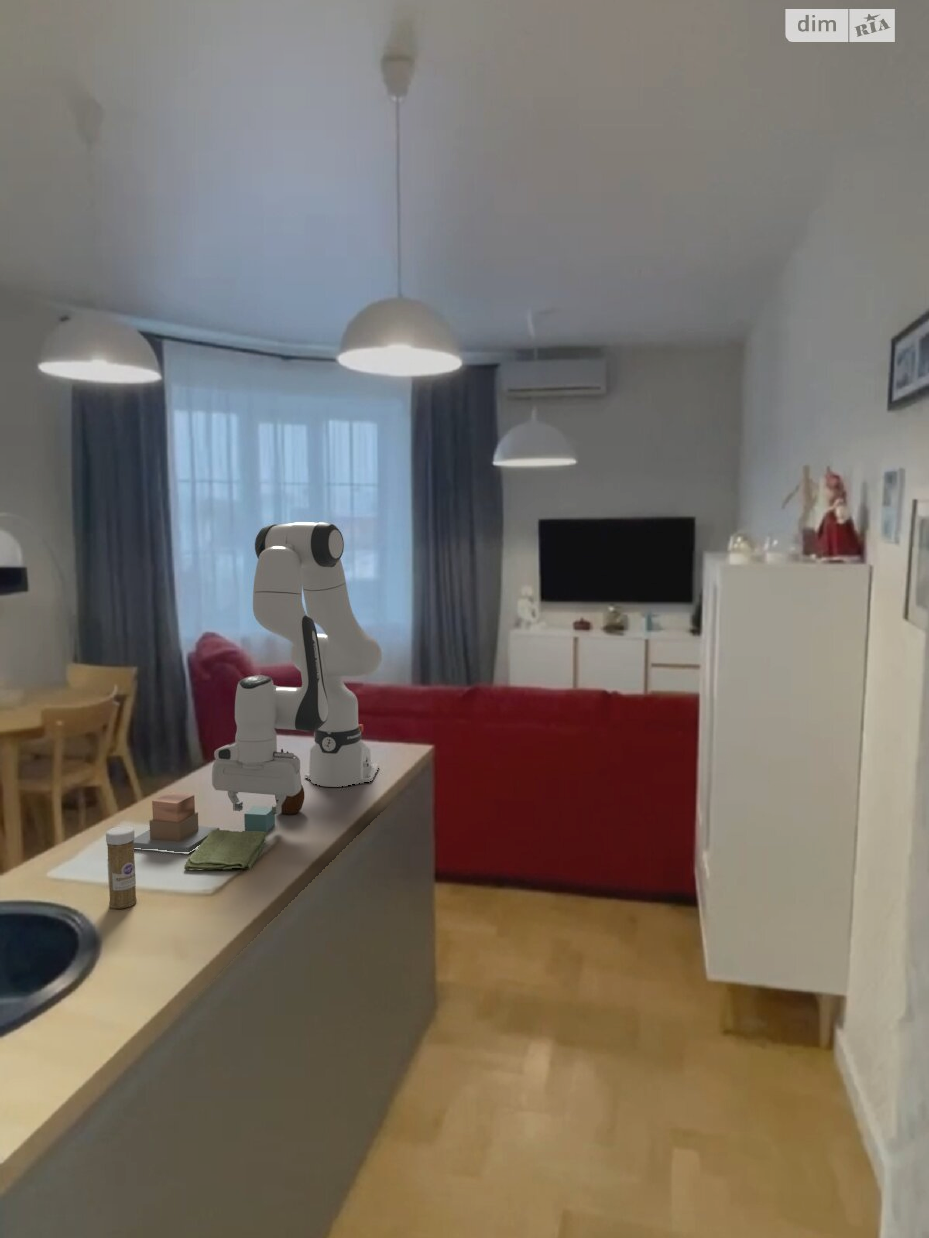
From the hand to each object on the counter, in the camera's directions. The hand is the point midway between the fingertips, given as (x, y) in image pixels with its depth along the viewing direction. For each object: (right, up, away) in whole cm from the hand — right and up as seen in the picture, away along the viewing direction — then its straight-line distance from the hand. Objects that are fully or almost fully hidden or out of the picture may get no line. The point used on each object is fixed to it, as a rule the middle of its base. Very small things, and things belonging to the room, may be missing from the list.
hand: (257, 812), depth 183 cm
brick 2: (0, -4, +1) cm, 4 cm away
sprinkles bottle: (-14, -8, -38) cm, 41 cm away
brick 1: (-15, +1, -8) cm, 18 cm away
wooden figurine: (+5, -3, +11) cm, 12 cm away
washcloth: (-2, -6, -15) cm, 16 cm away
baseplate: (-15, -4, -8) cm, 18 cm away
